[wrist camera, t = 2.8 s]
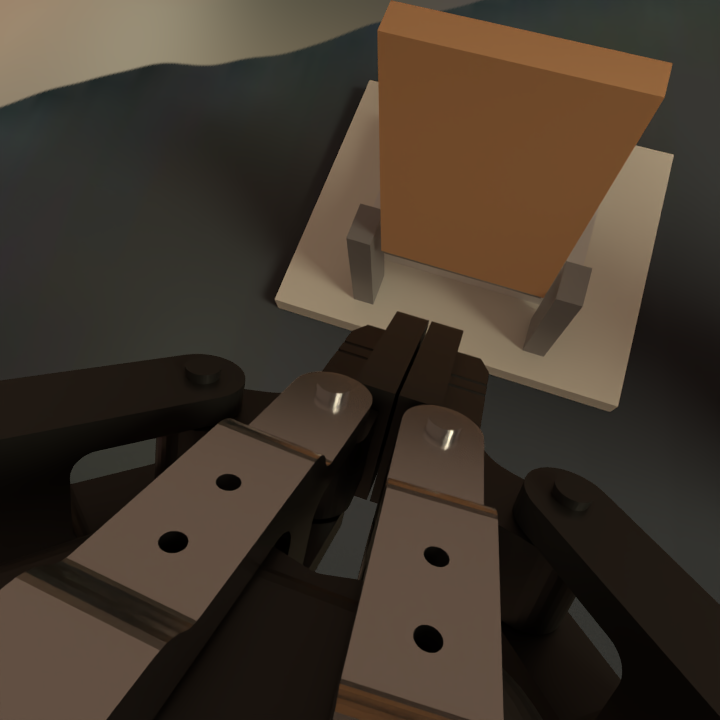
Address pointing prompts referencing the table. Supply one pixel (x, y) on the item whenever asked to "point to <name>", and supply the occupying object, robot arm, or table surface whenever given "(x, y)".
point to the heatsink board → (479, 299)
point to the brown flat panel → (500, 142)
